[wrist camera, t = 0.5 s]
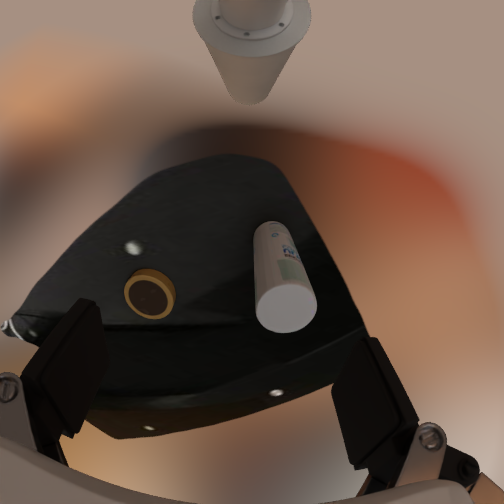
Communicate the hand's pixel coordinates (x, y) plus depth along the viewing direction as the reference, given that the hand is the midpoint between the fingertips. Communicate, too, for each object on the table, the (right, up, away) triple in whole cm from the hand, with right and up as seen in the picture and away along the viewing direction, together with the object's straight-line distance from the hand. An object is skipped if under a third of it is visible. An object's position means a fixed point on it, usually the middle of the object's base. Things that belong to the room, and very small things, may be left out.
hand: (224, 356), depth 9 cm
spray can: (+4, +6, +37) cm, 38 cm away
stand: (-19, -4, +41) cm, 45 cm away
